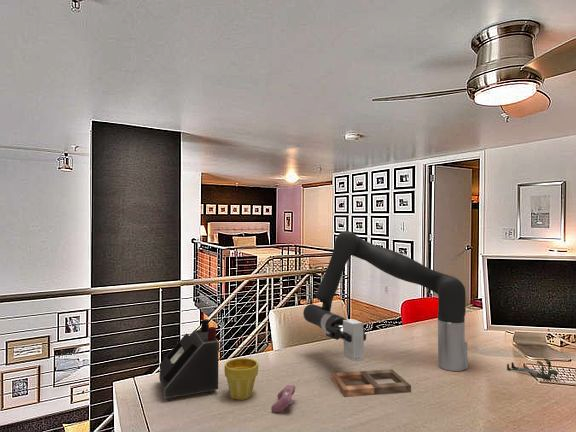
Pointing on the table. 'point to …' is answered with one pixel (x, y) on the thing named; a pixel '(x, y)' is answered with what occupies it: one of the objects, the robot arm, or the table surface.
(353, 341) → the skincare box
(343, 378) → the brown flat frame
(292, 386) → the video game controller
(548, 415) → the table surface
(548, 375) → the zombie figurine
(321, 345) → the table surface
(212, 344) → the voltmeter
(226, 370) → the plant pot
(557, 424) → the table surface
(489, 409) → the table surface
